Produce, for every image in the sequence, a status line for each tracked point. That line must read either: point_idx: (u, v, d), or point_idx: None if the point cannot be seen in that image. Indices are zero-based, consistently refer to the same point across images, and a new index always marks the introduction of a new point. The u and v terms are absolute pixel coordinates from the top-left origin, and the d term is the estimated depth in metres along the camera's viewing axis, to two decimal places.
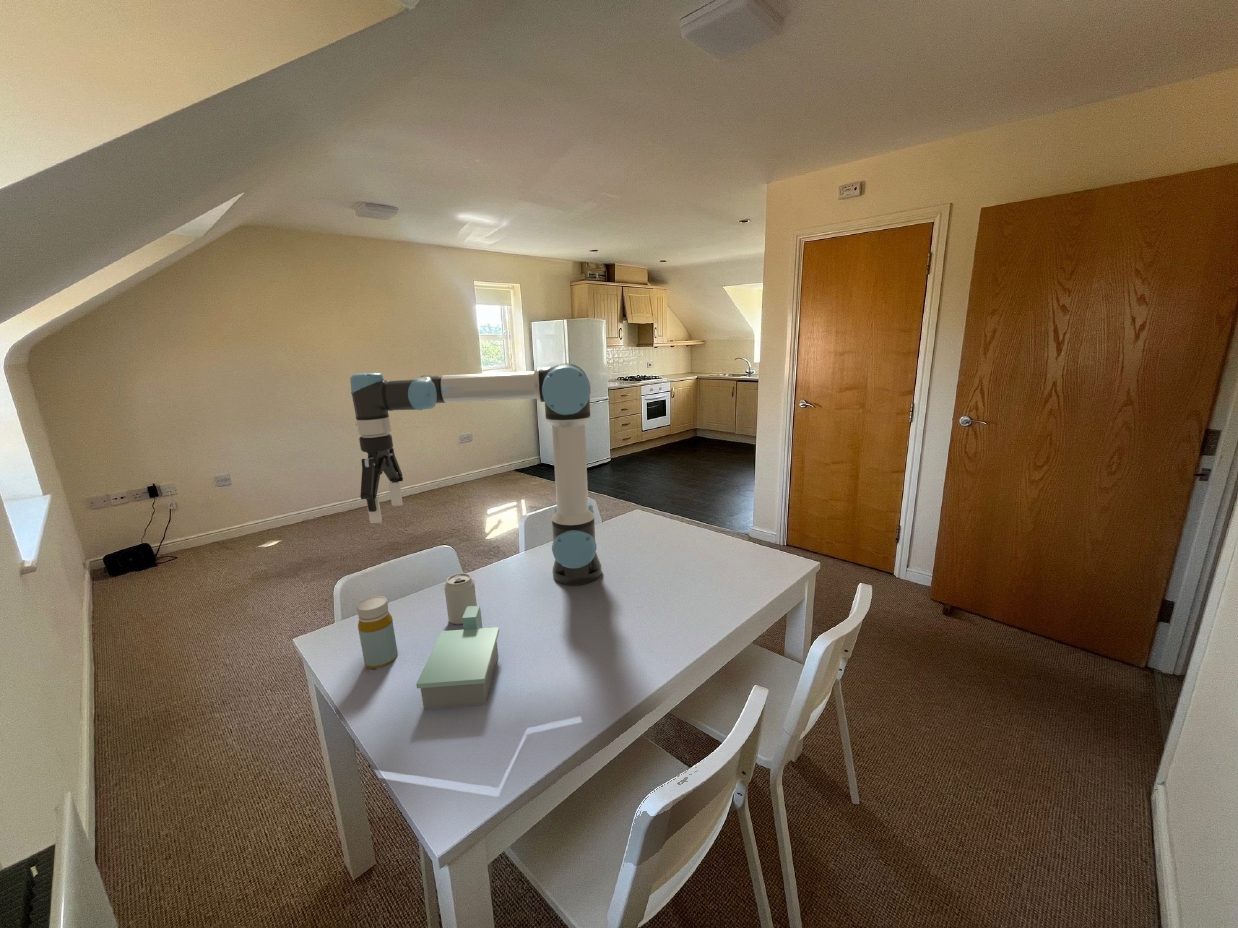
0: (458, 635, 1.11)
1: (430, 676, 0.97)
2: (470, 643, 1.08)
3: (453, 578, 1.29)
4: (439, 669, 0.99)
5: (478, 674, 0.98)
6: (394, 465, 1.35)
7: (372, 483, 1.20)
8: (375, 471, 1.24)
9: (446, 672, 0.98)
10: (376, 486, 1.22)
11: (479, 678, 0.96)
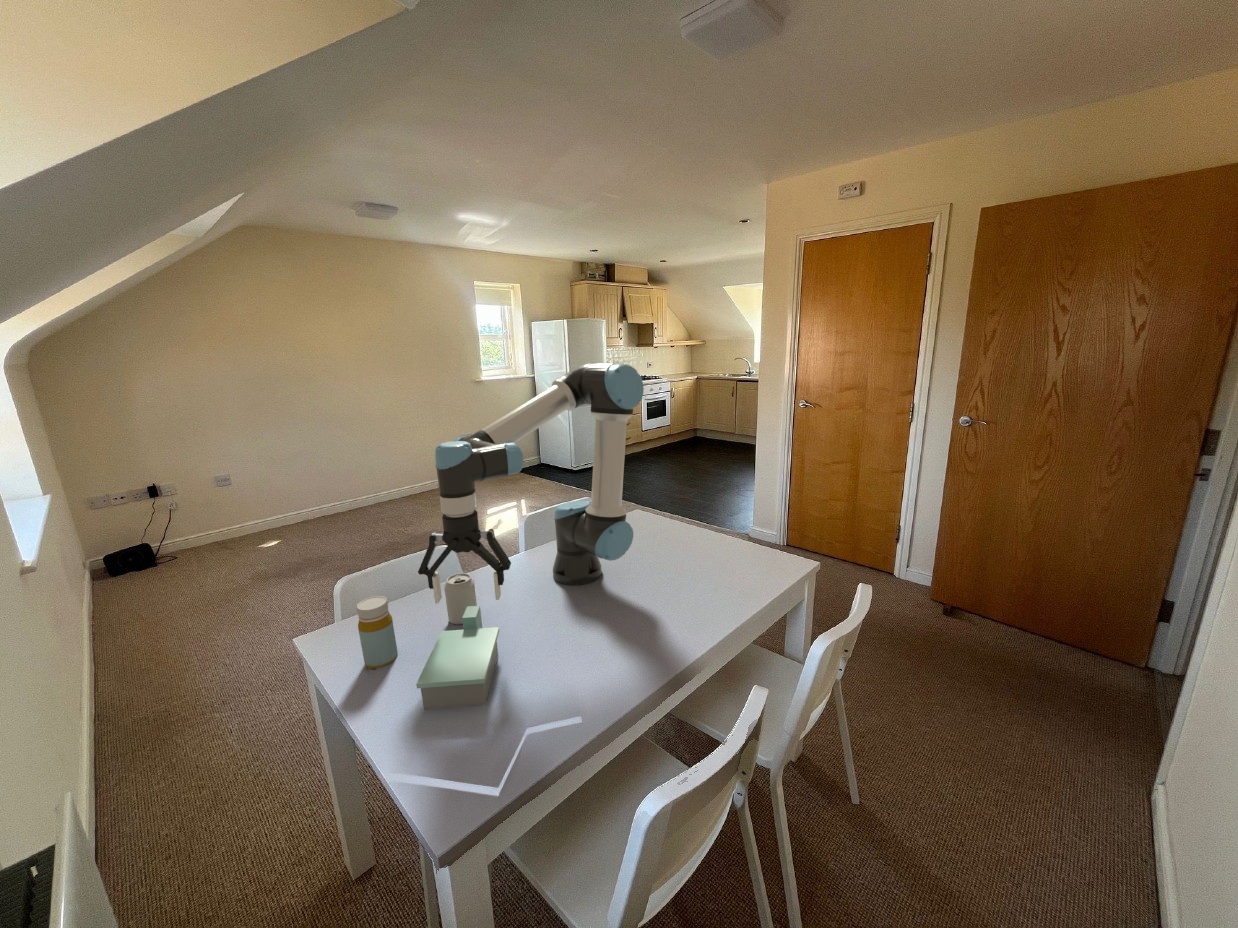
0: (458, 635, 1.11)
1: (430, 676, 0.97)
2: (470, 643, 1.08)
3: (453, 578, 1.29)
4: (439, 669, 0.99)
5: (478, 674, 0.98)
6: None
7: (425, 560, 1.10)
8: None
9: (446, 672, 0.98)
10: (435, 565, 1.10)
11: (479, 678, 0.96)
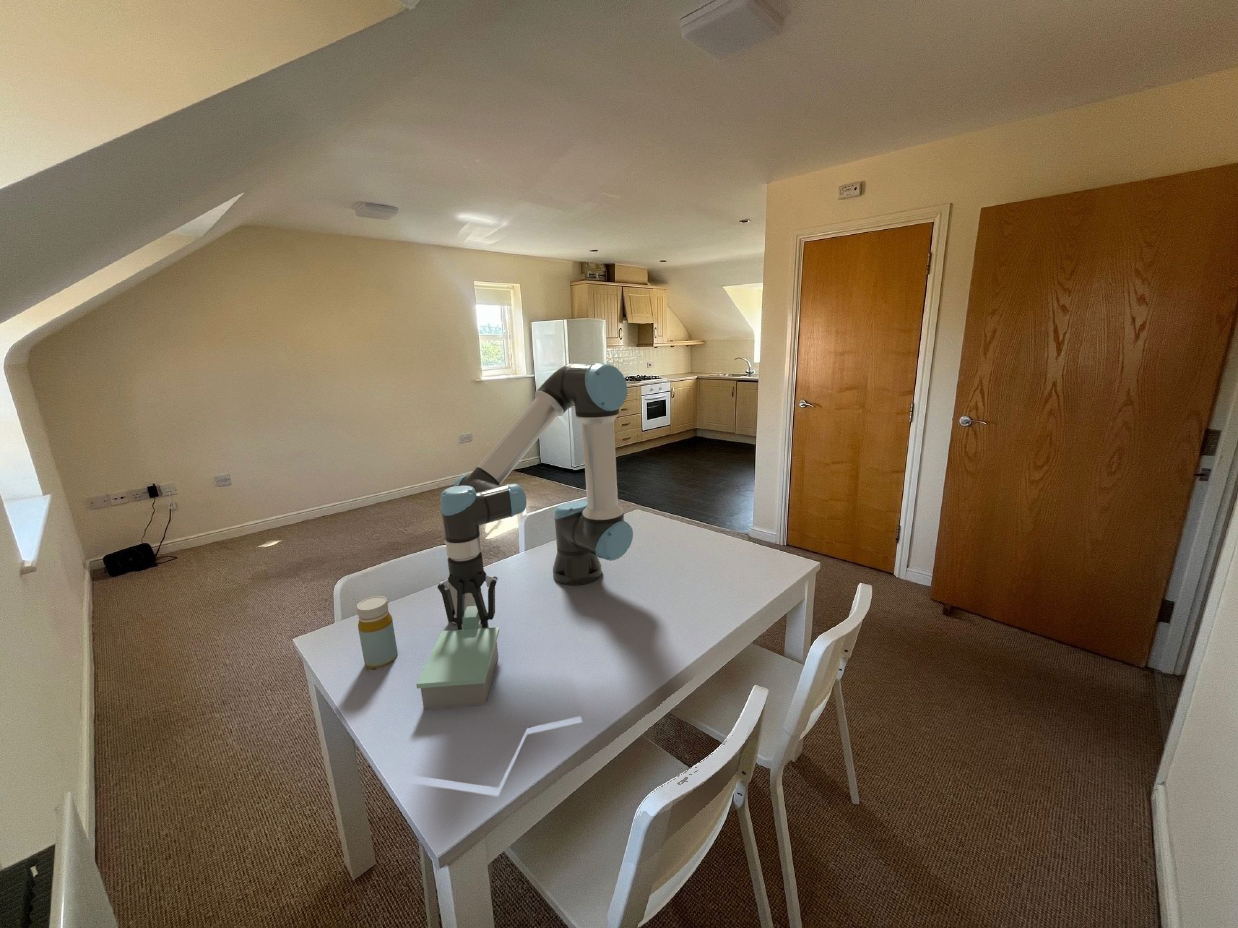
0: (458, 635, 1.11)
1: (430, 676, 0.97)
2: (470, 643, 1.08)
3: None
4: (439, 669, 0.99)
5: (478, 674, 0.98)
6: (488, 600, 1.14)
7: (448, 608, 1.13)
8: None
9: (446, 672, 0.98)
10: (458, 612, 1.13)
11: (479, 678, 0.96)
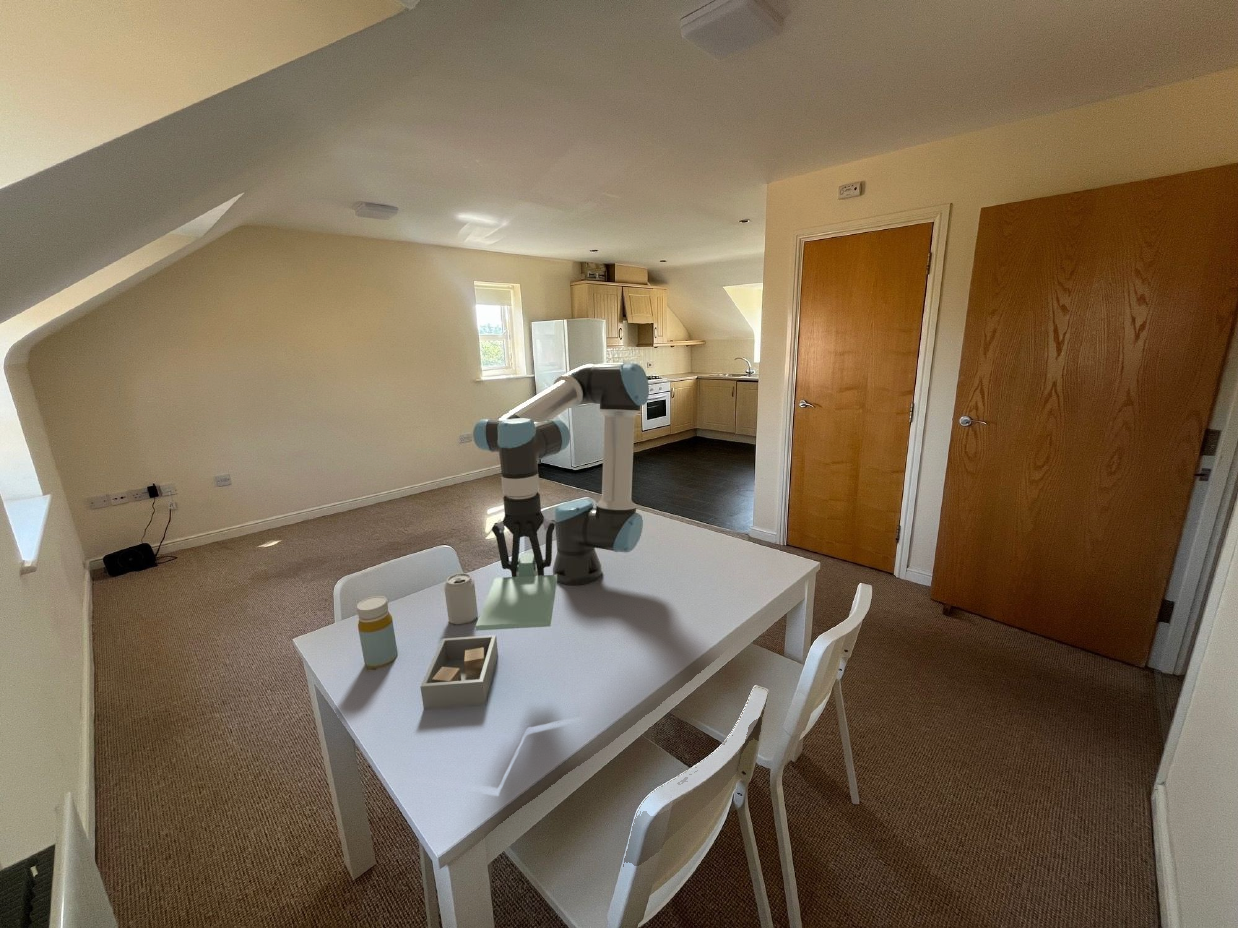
0: (514, 581, 1.02)
1: (490, 618, 0.88)
2: (528, 589, 0.99)
3: (453, 578, 1.29)
4: (499, 612, 0.90)
5: (542, 617, 0.88)
6: None
7: (502, 553, 1.04)
8: None
9: (507, 615, 0.89)
10: (513, 557, 1.04)
11: (544, 620, 0.87)
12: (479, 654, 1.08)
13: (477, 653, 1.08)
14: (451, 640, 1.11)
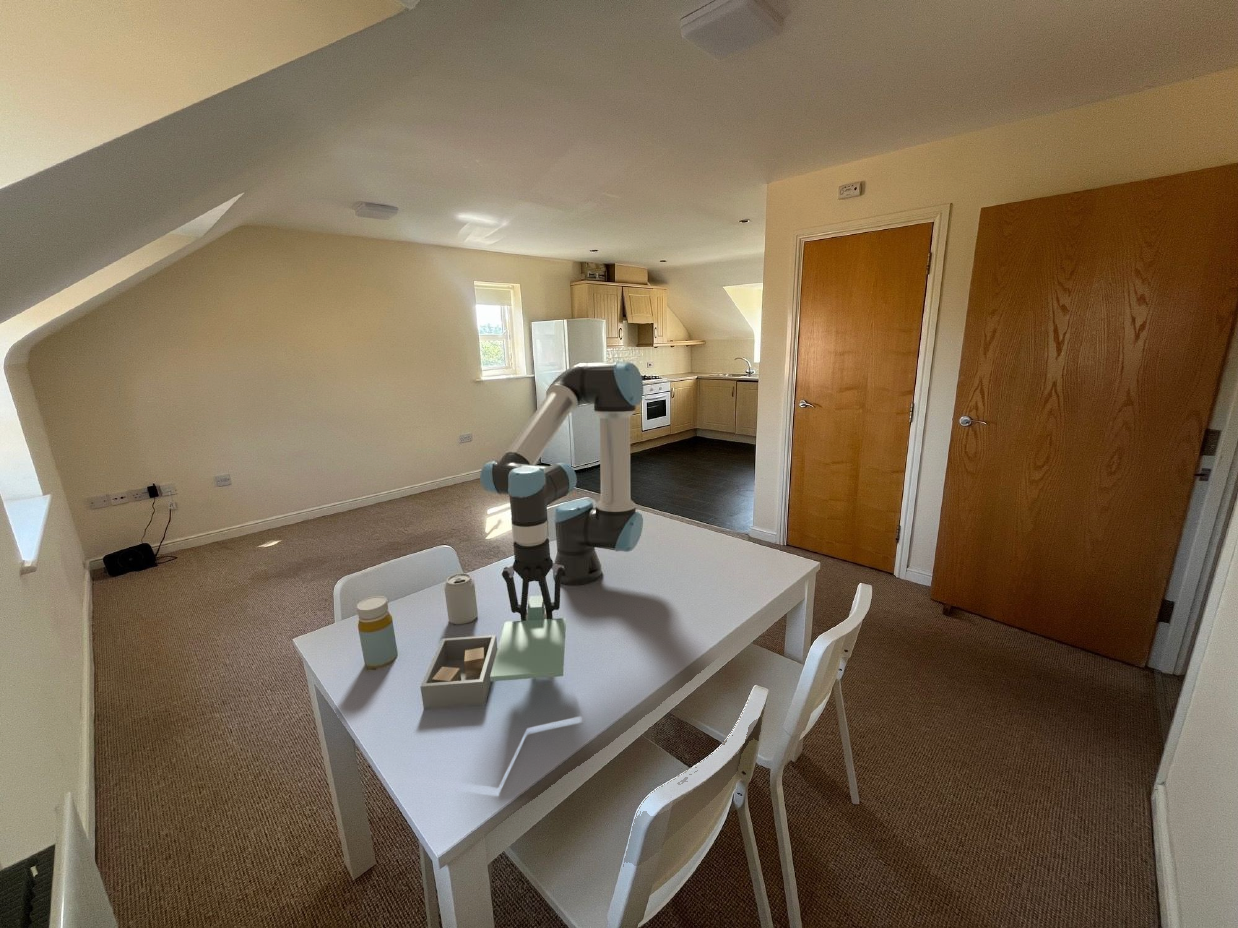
0: (524, 626, 1.04)
1: (503, 668, 0.90)
2: (539, 634, 1.01)
3: (453, 578, 1.29)
4: (511, 661, 0.92)
5: (555, 666, 0.90)
6: None
7: (512, 597, 1.06)
8: None
9: (520, 665, 0.91)
10: (522, 601, 1.06)
11: (557, 670, 0.89)
12: (479, 654, 1.08)
13: (477, 653, 1.08)
14: (451, 640, 1.11)
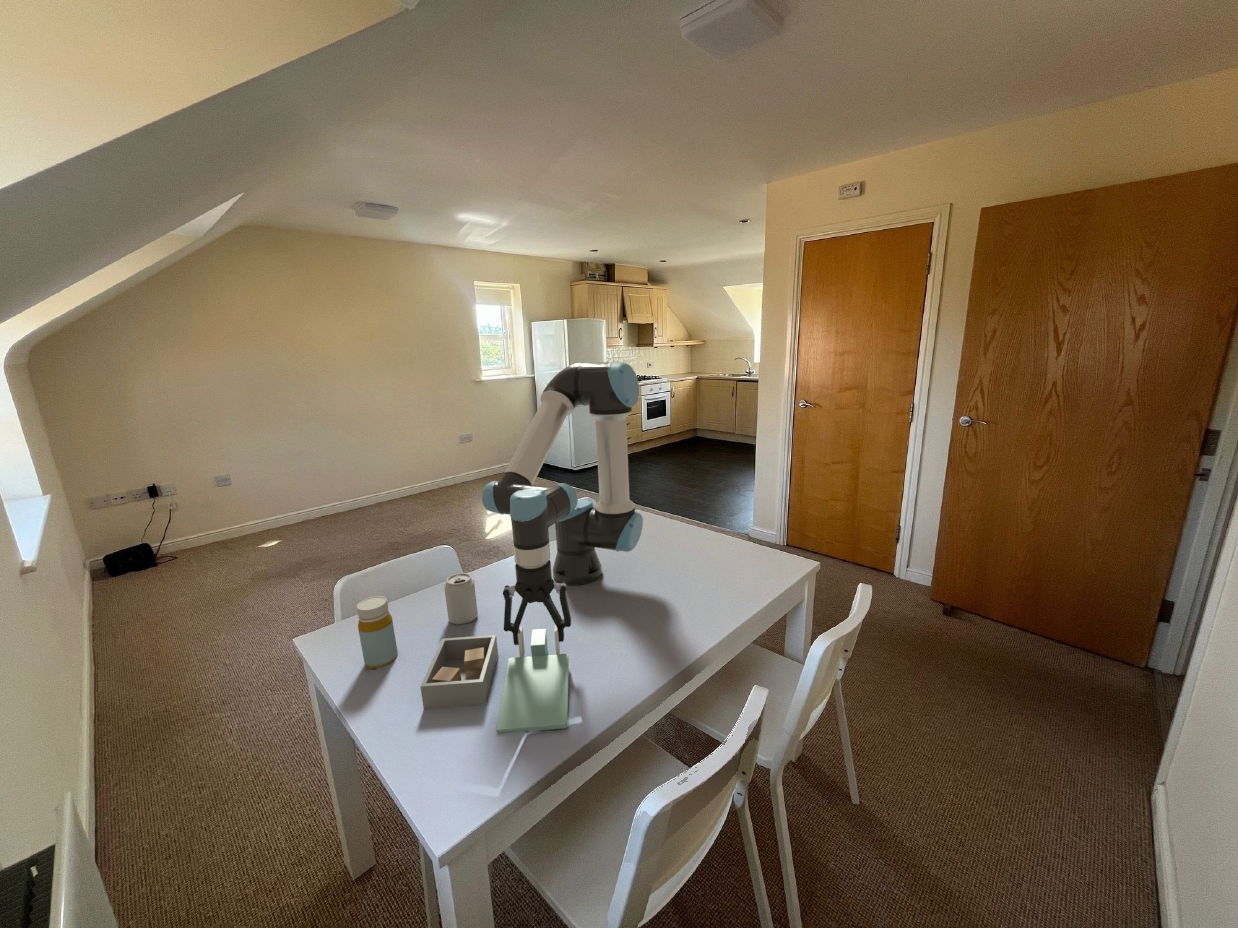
0: (528, 664, 1.06)
1: (509, 719, 0.93)
2: (542, 675, 1.03)
3: (453, 578, 1.29)
4: (517, 710, 0.95)
5: (559, 717, 0.93)
6: None
7: (507, 616, 1.07)
8: (521, 602, 1.07)
9: (525, 715, 0.94)
10: (517, 620, 1.07)
11: (561, 723, 0.92)
12: (479, 654, 1.08)
13: (477, 653, 1.08)
14: (451, 640, 1.11)
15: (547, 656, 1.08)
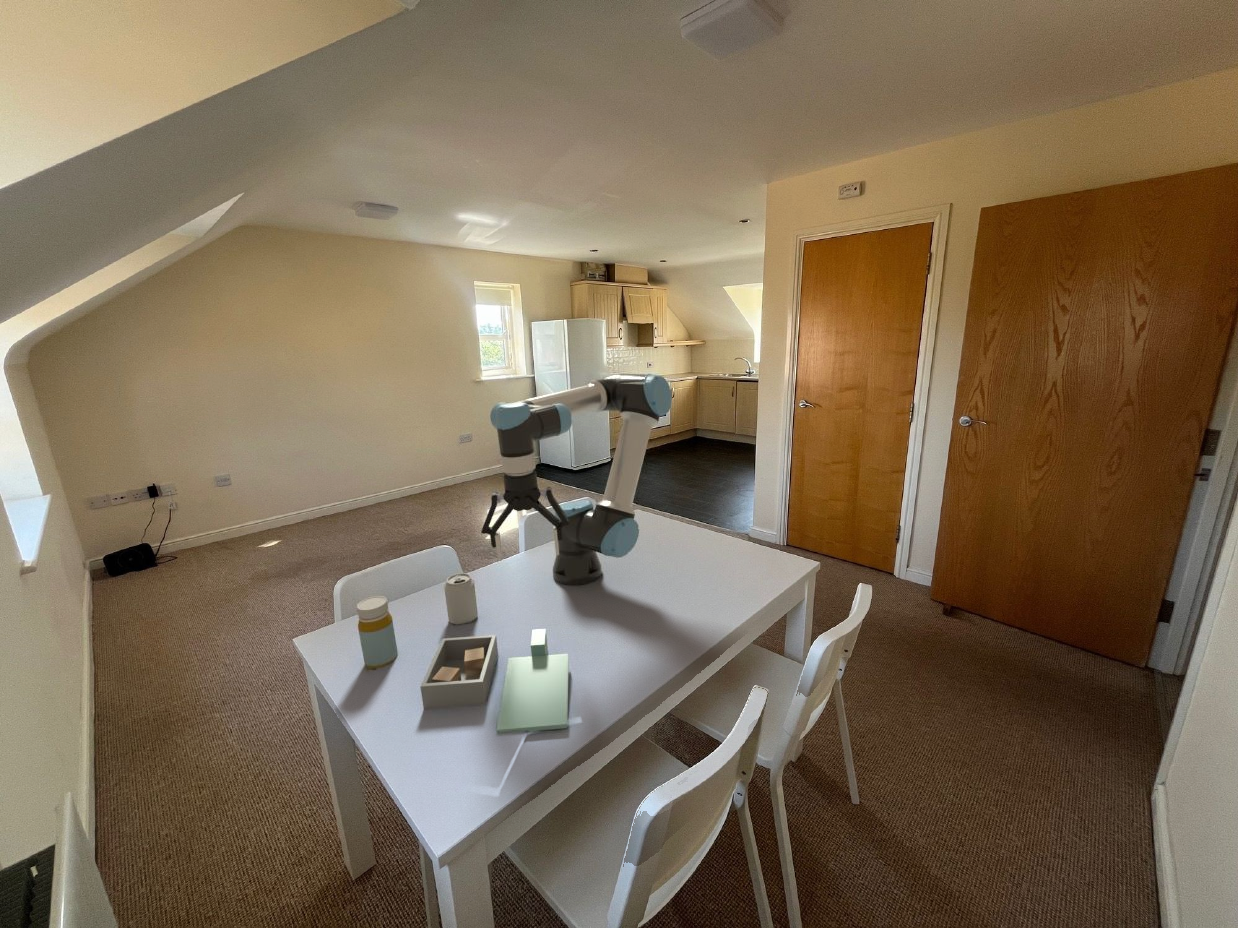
0: (528, 664, 1.06)
1: (509, 719, 0.93)
2: (542, 675, 1.03)
3: (453, 578, 1.29)
4: (517, 710, 0.95)
5: (559, 717, 0.93)
6: None
7: (488, 519, 1.14)
8: (506, 509, 1.14)
9: (525, 715, 0.94)
10: (497, 524, 1.14)
11: (561, 723, 0.92)
12: (479, 654, 1.08)
13: (477, 653, 1.08)
14: (451, 640, 1.11)
15: (547, 656, 1.08)
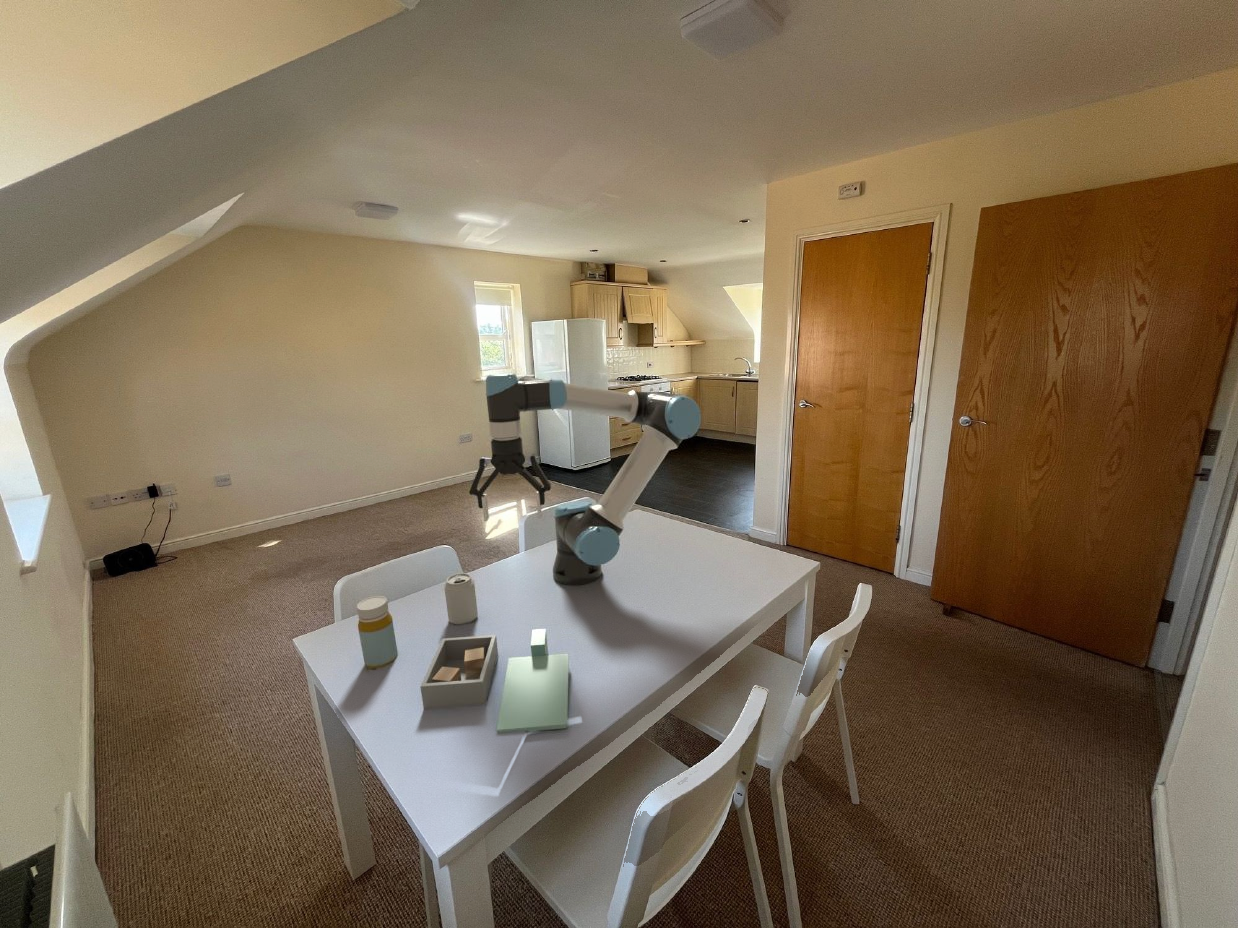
0: (528, 664, 1.06)
1: (509, 719, 0.93)
2: (542, 675, 1.03)
3: (453, 578, 1.29)
4: (517, 710, 0.95)
5: (559, 717, 0.93)
6: None
7: (476, 481, 1.23)
8: None
9: (525, 715, 0.94)
10: (484, 486, 1.23)
11: (561, 723, 0.92)
12: (479, 654, 1.08)
13: (477, 653, 1.08)
14: (451, 640, 1.11)
15: (547, 656, 1.08)
